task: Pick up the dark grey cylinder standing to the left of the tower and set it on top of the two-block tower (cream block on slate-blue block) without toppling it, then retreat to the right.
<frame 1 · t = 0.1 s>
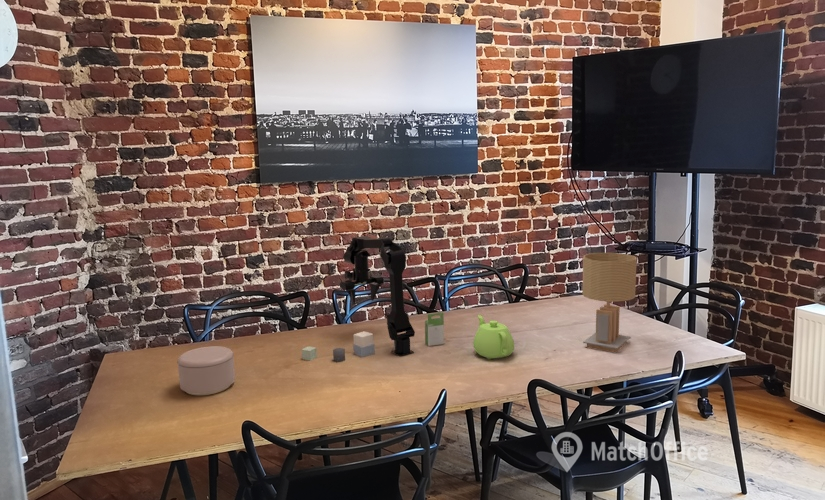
hand: (363, 302, 251), 15 cm above the table, fingers open, 9 cm apart
dark grey cylinder: (339, 360, 225), on the table
teapot: (492, 353, 228), on the table
desk lamp: (606, 345, 234), on the table
tower top: (363, 344, 231), point 4 cm above the table, touching tower base
container: (208, 386, 203), on the table
sage block: (309, 358, 228), on the table
tower base: (364, 353, 232), on the table, touching tower top
ink box: (434, 344, 241), on the table
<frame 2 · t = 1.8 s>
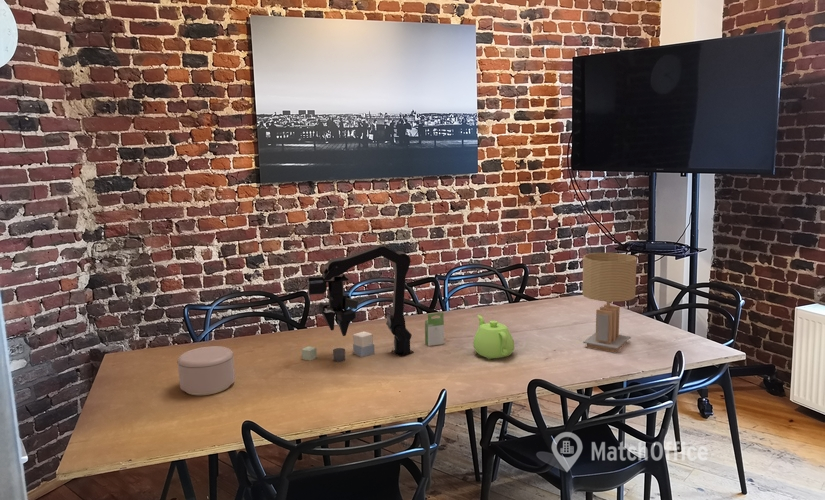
hand: (338, 333, 223), 11 cm above the table, fingers open, 9 cm apart
tower top: (363, 344, 231), point 4 cm above the table
tower base: (364, 353, 232), on the table
everything else where it was.
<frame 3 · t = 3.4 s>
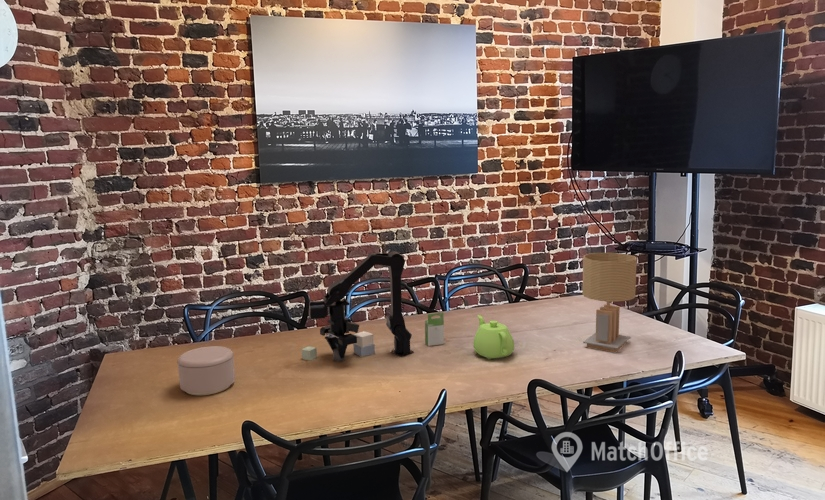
hand: (339, 356, 225), 1 cm above the table, fingers closed on dark grey cylinder, 4 cm apart
dark grey cylinder: (339, 359, 225), on the table, touching gripper
tower top: (363, 344, 231), point 4 cm above the table, touching tower base
tower base: (364, 353, 232), on the table, touching tower top
everything else where it was.
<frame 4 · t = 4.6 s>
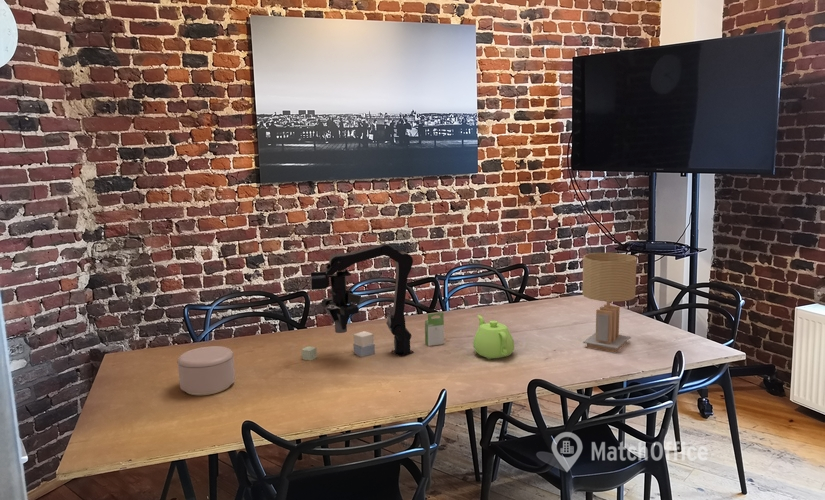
hand: (341, 328, 224), 12 cm above the table, fingers closed on dark grey cylinder, 4 cm apart
dark grey cylinder: (341, 331, 224), point 11 cm above the table, touching gripper
tower top: (363, 343, 231), point 4 cm above the table
tower base: (364, 353, 232), on the table
everything else where it was.
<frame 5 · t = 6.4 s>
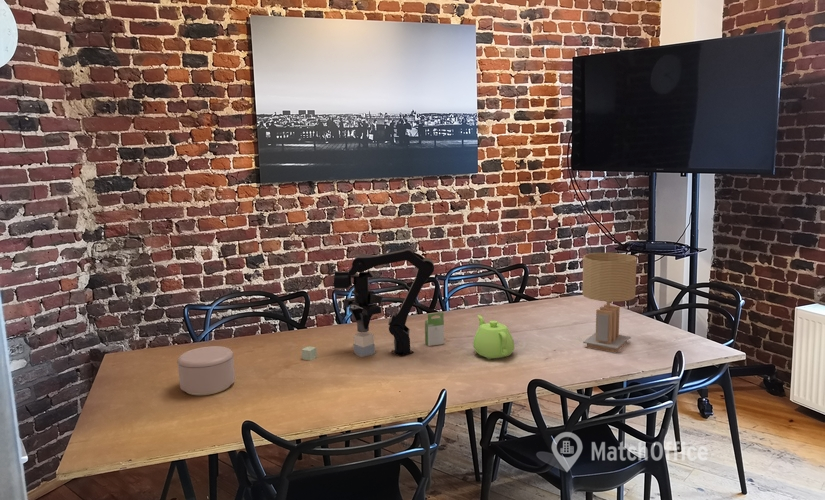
hand: (363, 327, 230), 10 cm above the table, fingers closed on dark grey cylinder, 4 cm apart
dark grey cylinder: (363, 330, 230), point 9 cm above the table, touching gripper
tower top: (364, 344, 231), point 4 cm above the table, touching tower base
tower base: (364, 353, 232), on the table, touching tower top
everything else where it was.
when the fingers open (10 cm above the table, at t = 6.5 s): dark grey cylinder drops 1 cm, resting on tower top.
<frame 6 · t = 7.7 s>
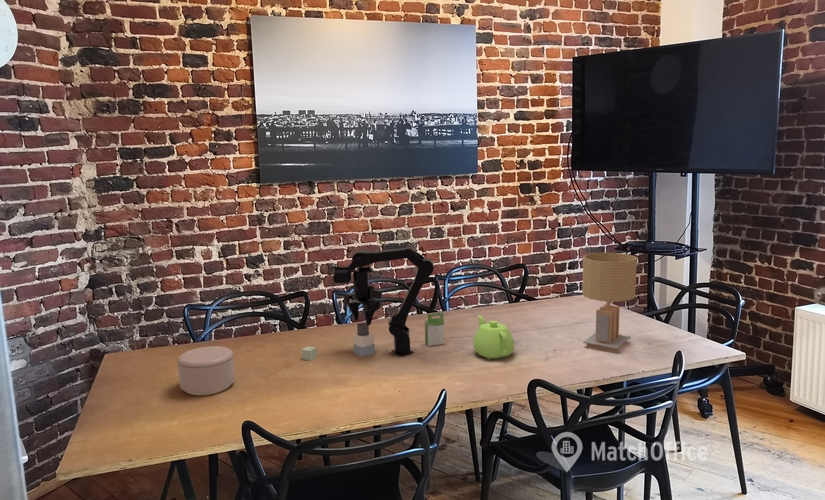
hand: (362, 322, 229), 12 cm above the table, fingers open, 9 cm apart
dark grey cylinder: (363, 334, 230), point 8 cm above the table, touching tower top
tower top: (363, 344, 231), point 4 cm above the table, touching dark grey cylinder, tower base
everything else where it was.
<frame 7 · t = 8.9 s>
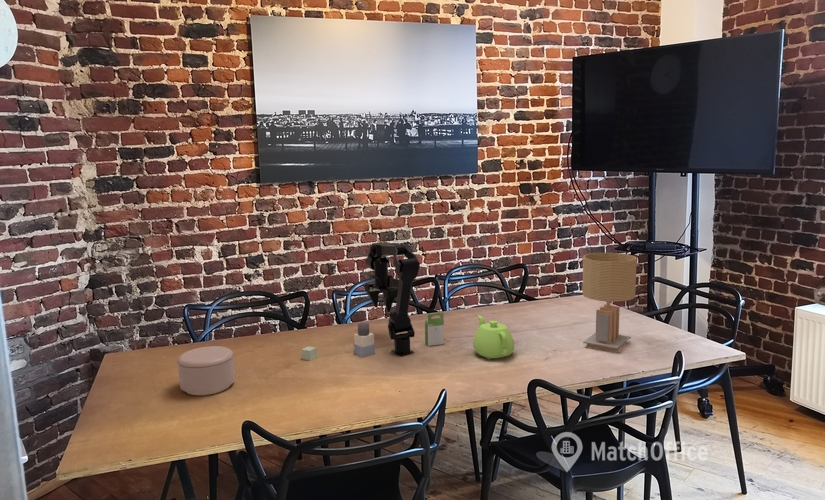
hand: (382, 309, 245), 13 cm above the table, fingers open, 9 cm apart
nothing on the table moved.
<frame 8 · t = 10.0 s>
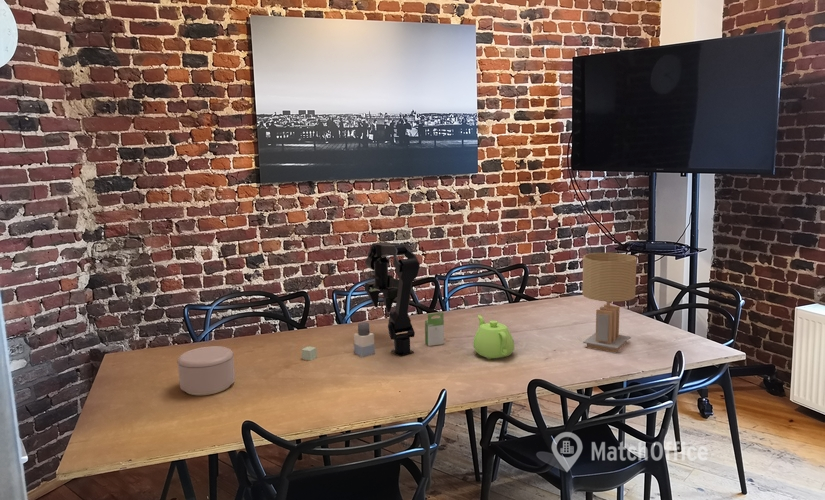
hand: (382, 309, 245), 13 cm above the table, fingers open, 9 cm apart
nothing on the table moved.
at the end: dark grey cylinder 0.1 cm off-centre on the tower base, point 8.0 cm above the tower base's base; tower top 0.1 cm off-centre on the tower base, point 4.0 cm above the tower base's base; dark grey cylinder tilted 1° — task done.
